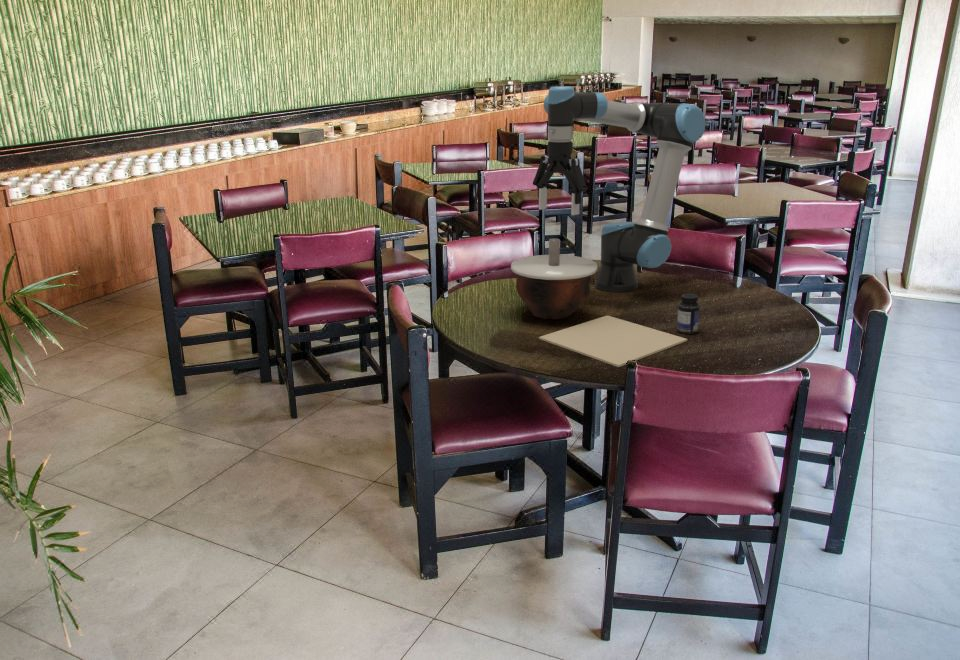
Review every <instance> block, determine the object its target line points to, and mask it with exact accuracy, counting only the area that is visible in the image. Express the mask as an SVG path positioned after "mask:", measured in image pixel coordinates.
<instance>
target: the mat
mask: <svg viewBox="0 0 960 660" xmlns="http://www.w3.org/2000/svg"><path fill="white" fill-rule="evenodd" d="M538 339H539V340H541V341H544V342H547V343H549V344H552V345H555V346H558V347H561V348H564V349H566V350H569V351H571V352H575V353H577V354H580V355H583V356H586V357H587V358H588V357H589V358H592V359H594V360H597V361H600V362H602V363H605V364H609V365H611V366H614V367H616V368H620V367H623V366H626V365H627V364H626V363H627V361H628V360H635V361H634V362H636V361H638V360H641V359H644V358H647V357H649V356H651V355H654V354H657V353H659V352H661V351H662V352H663V351H665V350H668V349H669V348H673V347H675V346H677V345H680V344H683V343H685V342H688V338H684V337H682V336H680V335H679V336H677V335H675V334H671V333H670V332H669V333H668V332H664V331H661V330H658V329H655V328H651V327H648V326H645V325H641V324H638V323H634V322H631V321H627V320H625V319H621V318H617V317H615V316H610V315H605V316H601V317H598V318H595V319H591V320H589V321H586V322H582V323H580V324H576V325H572V326H570V327H565V328H562V329H560V330H557V331H554V332H550V333H547V334H544V335H541V336H538Z"/></svg>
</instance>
